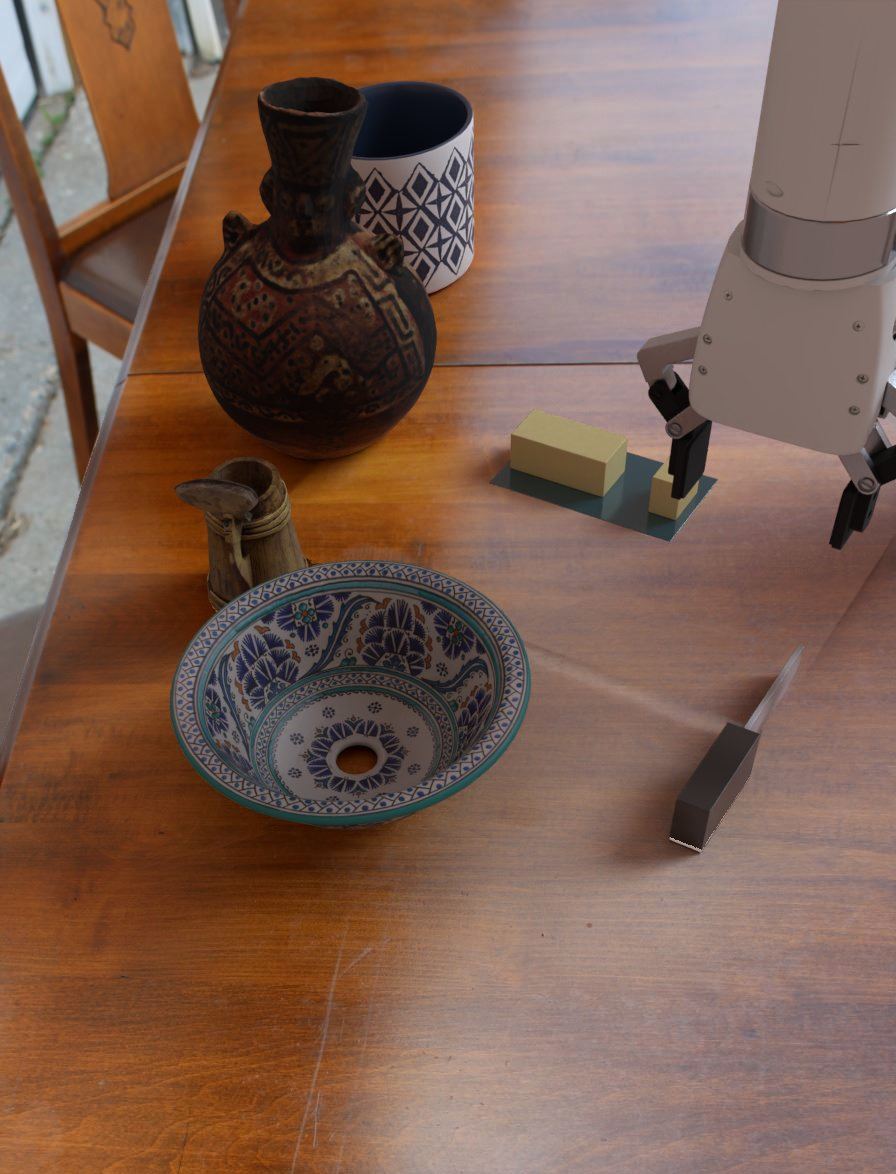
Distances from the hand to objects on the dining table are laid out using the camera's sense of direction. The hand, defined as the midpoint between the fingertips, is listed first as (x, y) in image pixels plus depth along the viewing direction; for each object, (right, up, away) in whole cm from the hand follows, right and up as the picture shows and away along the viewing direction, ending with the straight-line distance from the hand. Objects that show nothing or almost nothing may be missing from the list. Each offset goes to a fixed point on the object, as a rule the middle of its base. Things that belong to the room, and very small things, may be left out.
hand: (763, 509), depth 78 cm
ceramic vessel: (-25, +20, +46) cm, 56 cm away
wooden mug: (-31, +1, +33) cm, 45 cm away
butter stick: (-4, +14, +37) cm, 40 cm away
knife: (+5, -13, +18) cm, 22 cm away
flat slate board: (-1, +12, +37) cm, 39 cm away
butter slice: (+4, +10, +33) cm, 35 cm away
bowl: (-23, -13, +22) cm, 34 cm away
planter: (-17, +44, +62) cm, 78 cm away
